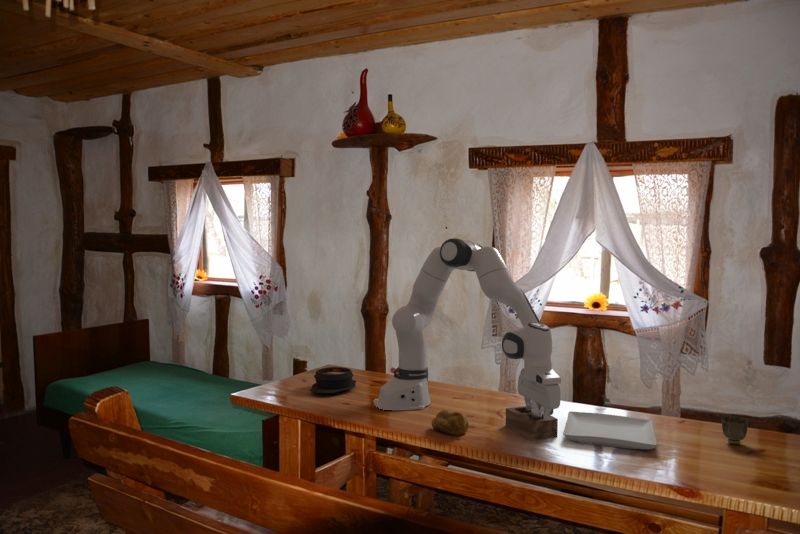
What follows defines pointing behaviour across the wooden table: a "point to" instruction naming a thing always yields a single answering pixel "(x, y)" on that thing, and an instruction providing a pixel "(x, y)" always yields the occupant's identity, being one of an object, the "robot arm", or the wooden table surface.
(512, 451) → the wooden table surface
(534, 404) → the steel pin
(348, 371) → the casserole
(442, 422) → the bread roll
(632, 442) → the square plate
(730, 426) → the cup
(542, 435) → the socket block
